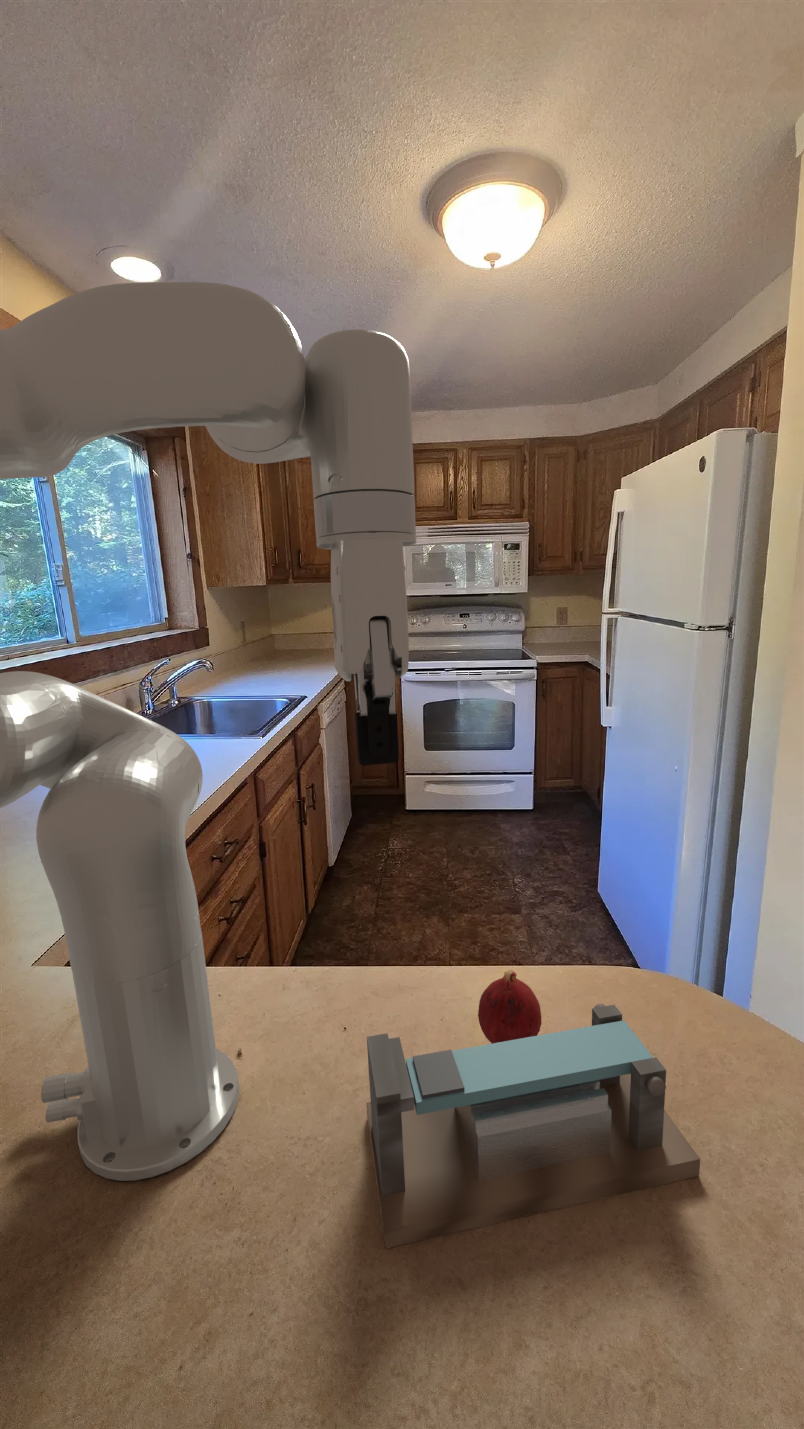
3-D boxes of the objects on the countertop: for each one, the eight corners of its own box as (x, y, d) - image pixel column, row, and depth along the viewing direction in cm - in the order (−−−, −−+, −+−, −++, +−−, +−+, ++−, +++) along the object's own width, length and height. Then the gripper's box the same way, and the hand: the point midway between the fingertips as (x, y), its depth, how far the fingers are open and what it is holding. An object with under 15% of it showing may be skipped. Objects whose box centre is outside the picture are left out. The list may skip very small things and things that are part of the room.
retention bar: (416, 1114, 40) (416, 1099, 40) (406, 1070, 44) (405, 1055, 44) (653, 1069, 43) (653, 1054, 43) (623, 1031, 47) (624, 1016, 47)
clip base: (385, 1248, 38) (378, 1127, 36) (367, 1118, 48) (360, 1017, 46) (699, 1176, 42) (706, 1062, 40) (623, 1068, 52) (627, 973, 50)
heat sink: (478, 1181, 41) (477, 1127, 40) (454, 1105, 47) (453, 1057, 46) (610, 1152, 42) (611, 1100, 42) (570, 1082, 49) (570, 1036, 48)
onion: (542, 1077, 51) (542, 997, 50) (476, 1069, 52) (475, 991, 51) (540, 1029, 57) (540, 956, 55) (481, 1023, 58) (479, 951, 56)
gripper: (312, 538, 50) (326, 744, 54) (319, 511, 36) (338, 795, 39) (398, 535, 51) (406, 737, 55) (437, 509, 37) (446, 784, 40)
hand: (378, 760), depth 47 cm, fingers closed
